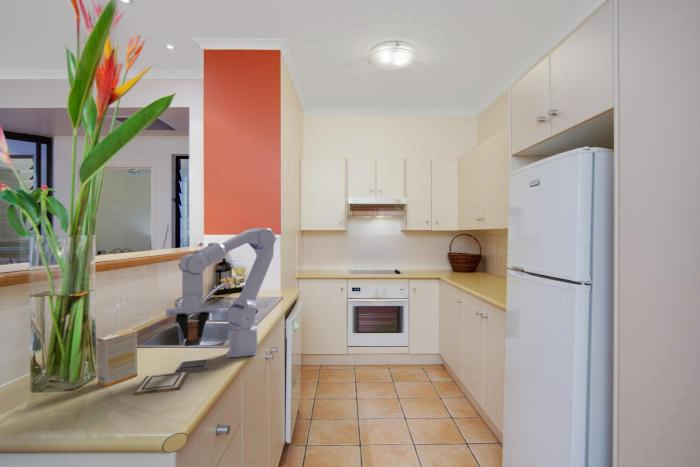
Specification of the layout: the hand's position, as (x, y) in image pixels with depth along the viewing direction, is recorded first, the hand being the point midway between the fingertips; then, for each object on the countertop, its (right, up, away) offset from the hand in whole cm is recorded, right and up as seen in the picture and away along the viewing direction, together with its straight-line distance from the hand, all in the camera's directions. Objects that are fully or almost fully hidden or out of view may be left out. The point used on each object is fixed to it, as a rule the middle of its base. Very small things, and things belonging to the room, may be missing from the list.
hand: (193, 337), depth 98 cm
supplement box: (-18, -10, -8) cm, 21 cm away
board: (-4, -9, -10) cm, 14 cm away
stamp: (0, -2, 0) cm, 2 cm away
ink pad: (0, -9, 0) cm, 9 cm away
